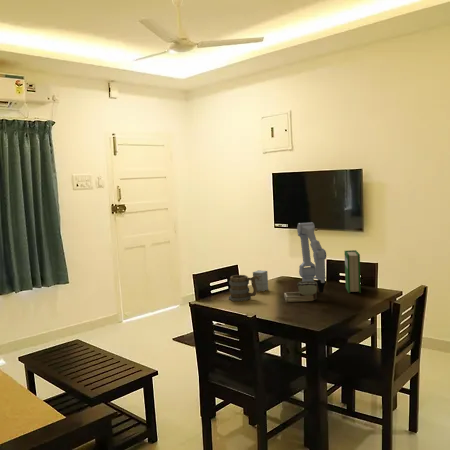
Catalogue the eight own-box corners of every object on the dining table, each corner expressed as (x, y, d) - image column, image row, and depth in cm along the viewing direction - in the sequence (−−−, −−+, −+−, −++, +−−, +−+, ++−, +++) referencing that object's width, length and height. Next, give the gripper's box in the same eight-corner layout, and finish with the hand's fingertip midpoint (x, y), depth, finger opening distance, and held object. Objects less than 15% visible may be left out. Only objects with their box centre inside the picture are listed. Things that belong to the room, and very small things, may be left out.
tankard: (226, 300, 296) (225, 276, 295) (234, 295, 307) (233, 272, 306) (256, 302, 287) (255, 277, 286) (264, 297, 299) (263, 273, 297)
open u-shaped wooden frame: (284, 297, 296) (284, 292, 296) (310, 296, 296) (310, 291, 295) (286, 301, 285) (286, 296, 285) (313, 300, 285) (313, 295, 284)
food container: (318, 296, 292) (318, 280, 292) (318, 299, 286) (317, 282, 286) (298, 297, 295) (297, 281, 294) (297, 299, 289) (296, 283, 288)
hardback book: (360, 292, 298) (359, 254, 296) (348, 293, 299) (347, 254, 297) (357, 286, 315) (356, 250, 313) (345, 286, 316) (344, 250, 314)
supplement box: (259, 288, 324) (258, 270, 323) (268, 289, 320) (267, 270, 319) (253, 290, 318) (252, 272, 317) (262, 291, 314) (261, 272, 313)
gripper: (311, 268, 296) (312, 290, 297) (315, 272, 281) (316, 295, 282) (323, 267, 296) (323, 289, 297) (327, 271, 281) (328, 294, 282)
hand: (321, 292), depth 290 cm, fingers closed
